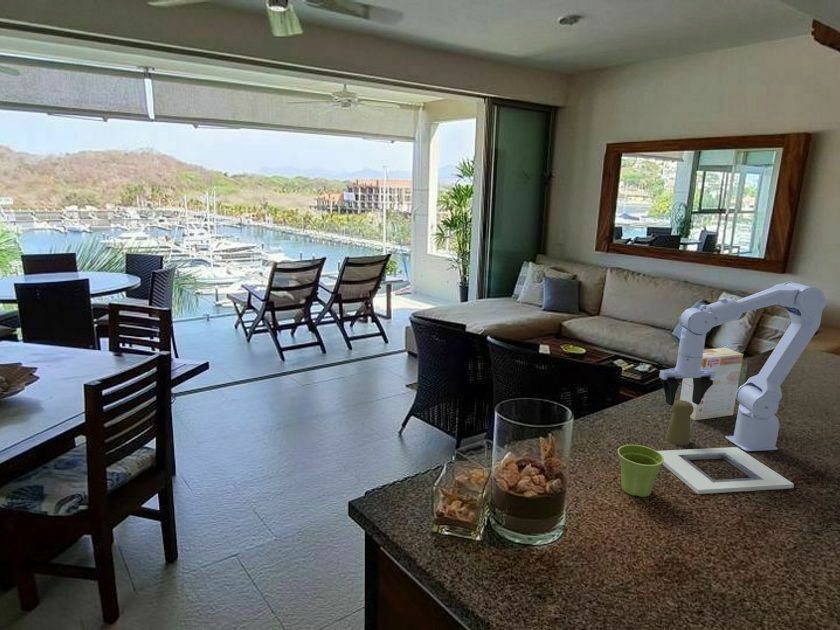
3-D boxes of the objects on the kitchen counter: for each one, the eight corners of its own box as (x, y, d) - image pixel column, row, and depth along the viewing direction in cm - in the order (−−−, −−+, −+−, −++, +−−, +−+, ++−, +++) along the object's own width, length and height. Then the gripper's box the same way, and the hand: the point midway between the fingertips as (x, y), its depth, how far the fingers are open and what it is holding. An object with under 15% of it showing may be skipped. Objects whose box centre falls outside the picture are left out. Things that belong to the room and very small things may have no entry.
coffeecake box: (714, 406, 168) (724, 347, 164) (734, 415, 162) (745, 354, 157) (676, 411, 164) (685, 350, 159) (695, 421, 157) (705, 357, 153)
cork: (692, 446, 141) (699, 407, 138) (668, 443, 142) (674, 405, 140) (686, 436, 147) (692, 399, 144) (662, 434, 148) (668, 396, 145)
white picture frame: (736, 450, 139) (736, 447, 139) (793, 488, 122) (793, 484, 122) (651, 454, 136) (651, 451, 135) (697, 494, 118) (698, 489, 118)
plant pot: (638, 506, 113) (643, 468, 111) (604, 484, 121) (608, 449, 119) (668, 496, 117) (673, 459, 115) (633, 475, 125) (638, 441, 123)
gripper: (705, 349, 144) (697, 397, 147) (655, 350, 142) (648, 398, 145) (723, 357, 137) (715, 407, 140) (671, 358, 135) (664, 409, 138)
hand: (682, 403), depth 142 cm, fingers open, 7 cm apart
